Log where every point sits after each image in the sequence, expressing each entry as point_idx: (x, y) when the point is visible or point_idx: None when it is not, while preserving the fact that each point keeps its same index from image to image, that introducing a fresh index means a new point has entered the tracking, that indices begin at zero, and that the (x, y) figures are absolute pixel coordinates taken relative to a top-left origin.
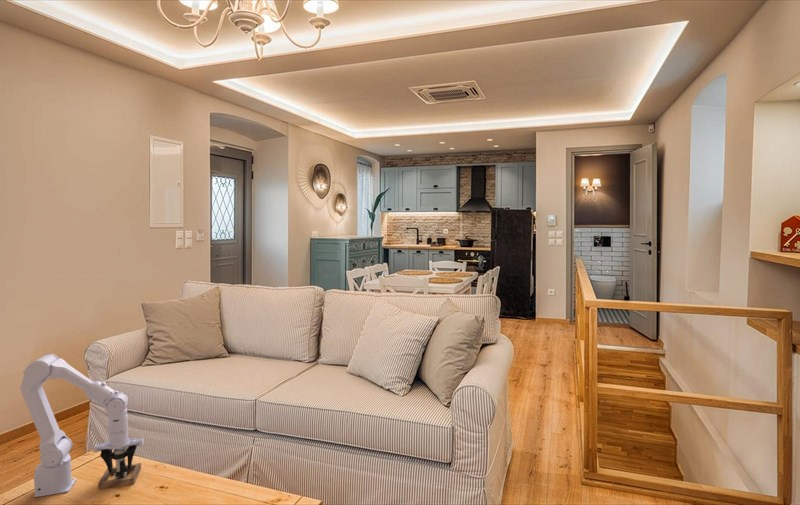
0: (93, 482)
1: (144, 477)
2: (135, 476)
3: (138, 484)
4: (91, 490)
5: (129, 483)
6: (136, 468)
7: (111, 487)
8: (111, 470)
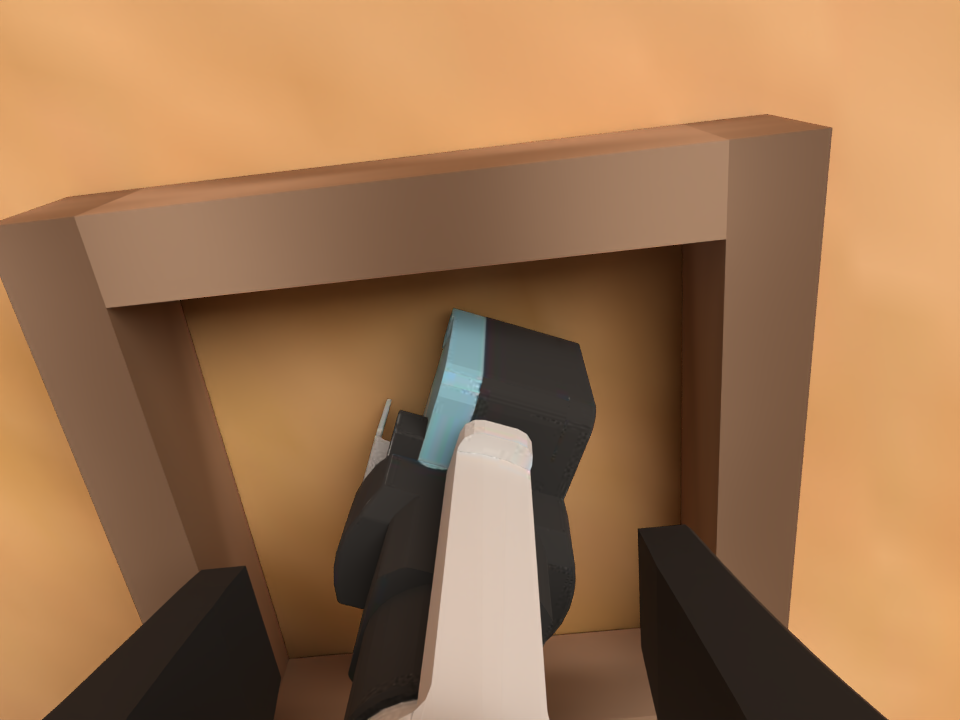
0: (10, 492)
1: (875, 508)
2: None
3: None
4: None
5: None
6: (763, 424)
7: None
8: (270, 650)
